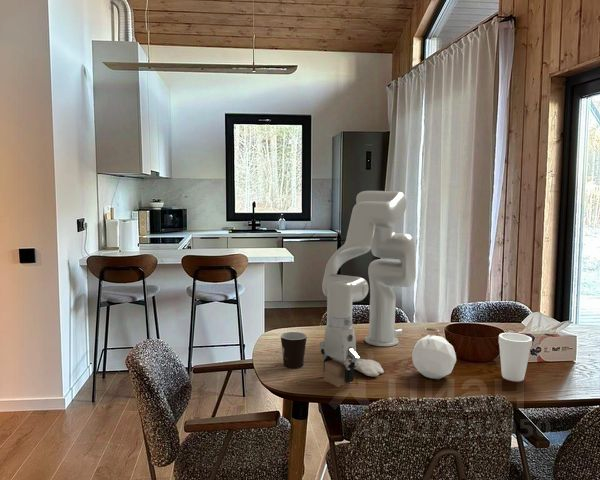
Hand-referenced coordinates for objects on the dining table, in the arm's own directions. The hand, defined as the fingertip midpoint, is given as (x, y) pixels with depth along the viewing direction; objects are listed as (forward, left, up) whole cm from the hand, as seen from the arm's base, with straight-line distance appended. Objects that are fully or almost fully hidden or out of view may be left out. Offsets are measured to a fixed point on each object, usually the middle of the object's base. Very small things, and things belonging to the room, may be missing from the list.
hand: (338, 376), depth 151 cm
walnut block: (0, 0, -2) cm, 2 cm away
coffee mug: (+2, -20, -2) cm, 20 cm away
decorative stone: (-14, -2, -2) cm, 14 cm away
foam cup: (-47, +29, -2) cm, 55 cm away
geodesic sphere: (-27, +14, -2) cm, 30 cm away
